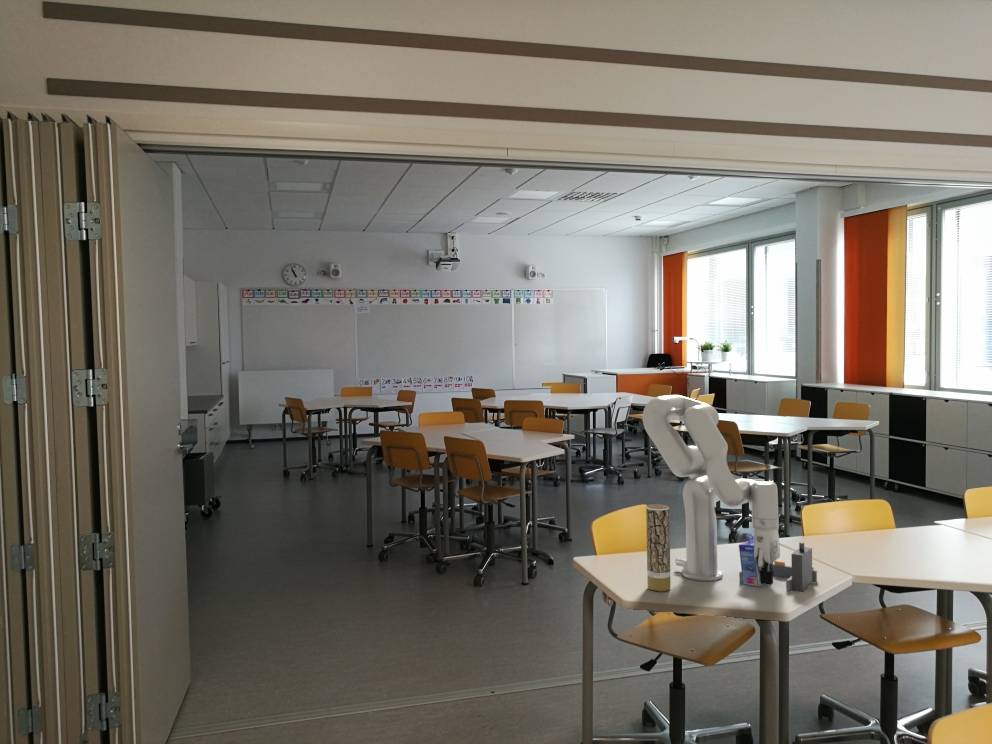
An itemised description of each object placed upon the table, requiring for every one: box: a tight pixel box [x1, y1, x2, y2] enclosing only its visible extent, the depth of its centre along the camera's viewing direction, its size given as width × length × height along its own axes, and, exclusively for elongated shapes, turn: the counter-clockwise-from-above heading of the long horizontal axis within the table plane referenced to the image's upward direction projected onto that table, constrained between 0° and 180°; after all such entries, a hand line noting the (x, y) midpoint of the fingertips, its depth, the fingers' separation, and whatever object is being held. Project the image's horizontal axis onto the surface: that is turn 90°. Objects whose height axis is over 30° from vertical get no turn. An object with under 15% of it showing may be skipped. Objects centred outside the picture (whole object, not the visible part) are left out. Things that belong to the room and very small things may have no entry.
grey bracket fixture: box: [738, 541, 818, 593], centre depth 219 cm, size 18×15×13 cm
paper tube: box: [645, 503, 671, 592], centre depth 216 cm, size 7×7×25 cm
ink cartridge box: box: [738, 532, 763, 587], centre depth 220 cm, size 10×6×14 cm, turn 136°
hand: (767, 583), depth 215 cm, fingers closed
